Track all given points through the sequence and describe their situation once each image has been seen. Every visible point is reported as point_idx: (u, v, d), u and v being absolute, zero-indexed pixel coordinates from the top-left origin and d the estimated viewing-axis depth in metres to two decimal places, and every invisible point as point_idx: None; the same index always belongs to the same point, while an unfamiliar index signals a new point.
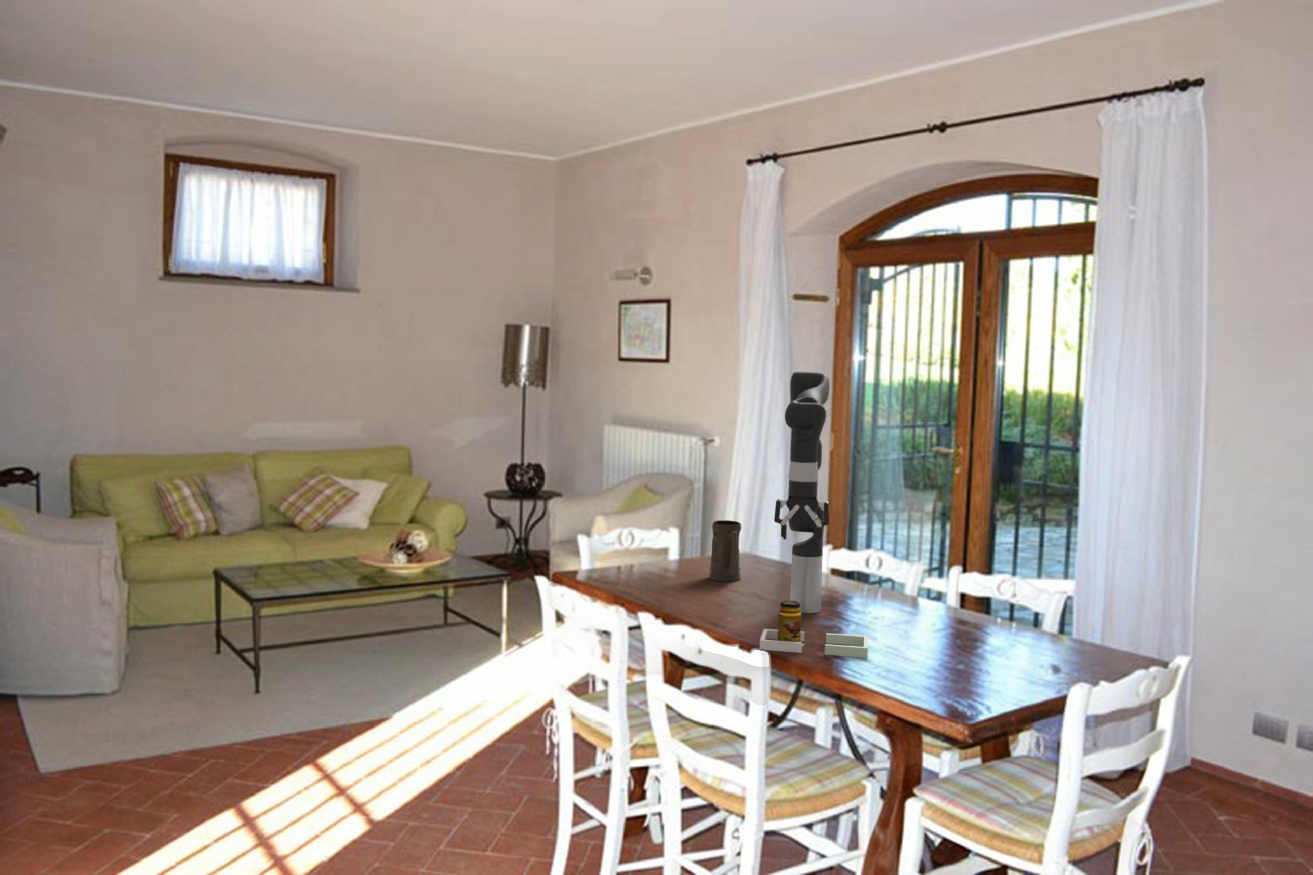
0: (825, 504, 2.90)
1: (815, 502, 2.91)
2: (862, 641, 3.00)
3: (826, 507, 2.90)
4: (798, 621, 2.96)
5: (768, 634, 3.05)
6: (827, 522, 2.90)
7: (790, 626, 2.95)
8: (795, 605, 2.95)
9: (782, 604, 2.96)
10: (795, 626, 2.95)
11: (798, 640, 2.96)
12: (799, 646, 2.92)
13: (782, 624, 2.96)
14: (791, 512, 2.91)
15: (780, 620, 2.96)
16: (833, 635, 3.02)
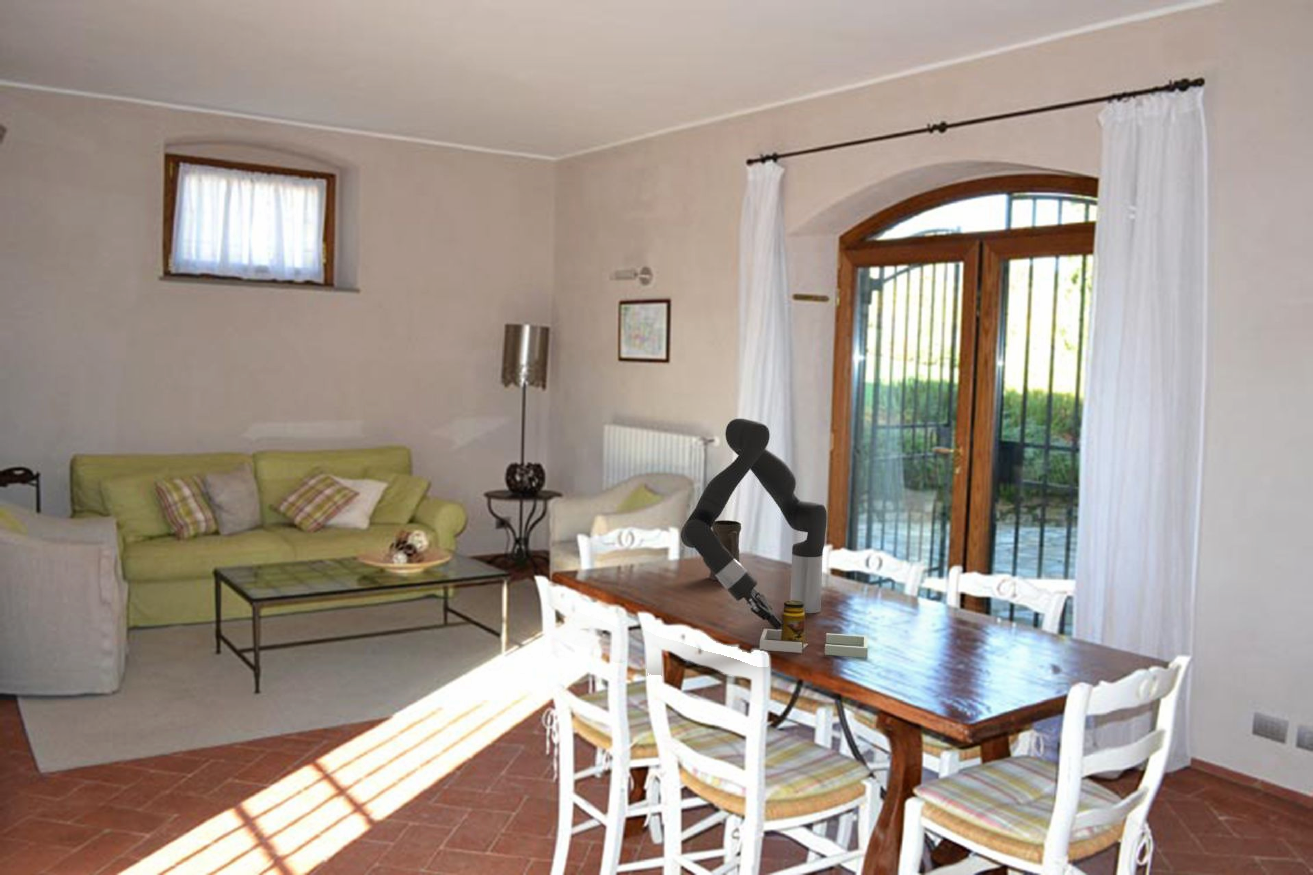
0: None
1: None
2: (862, 641, 3.00)
3: None
4: (802, 621, 2.96)
5: (768, 634, 3.05)
6: (762, 618, 2.97)
7: (794, 626, 2.95)
8: (799, 605, 2.95)
9: (786, 604, 2.96)
10: (799, 626, 2.95)
11: (802, 640, 2.96)
12: (799, 646, 2.92)
13: (786, 624, 2.96)
14: None
15: (784, 620, 2.96)
16: (833, 635, 3.02)
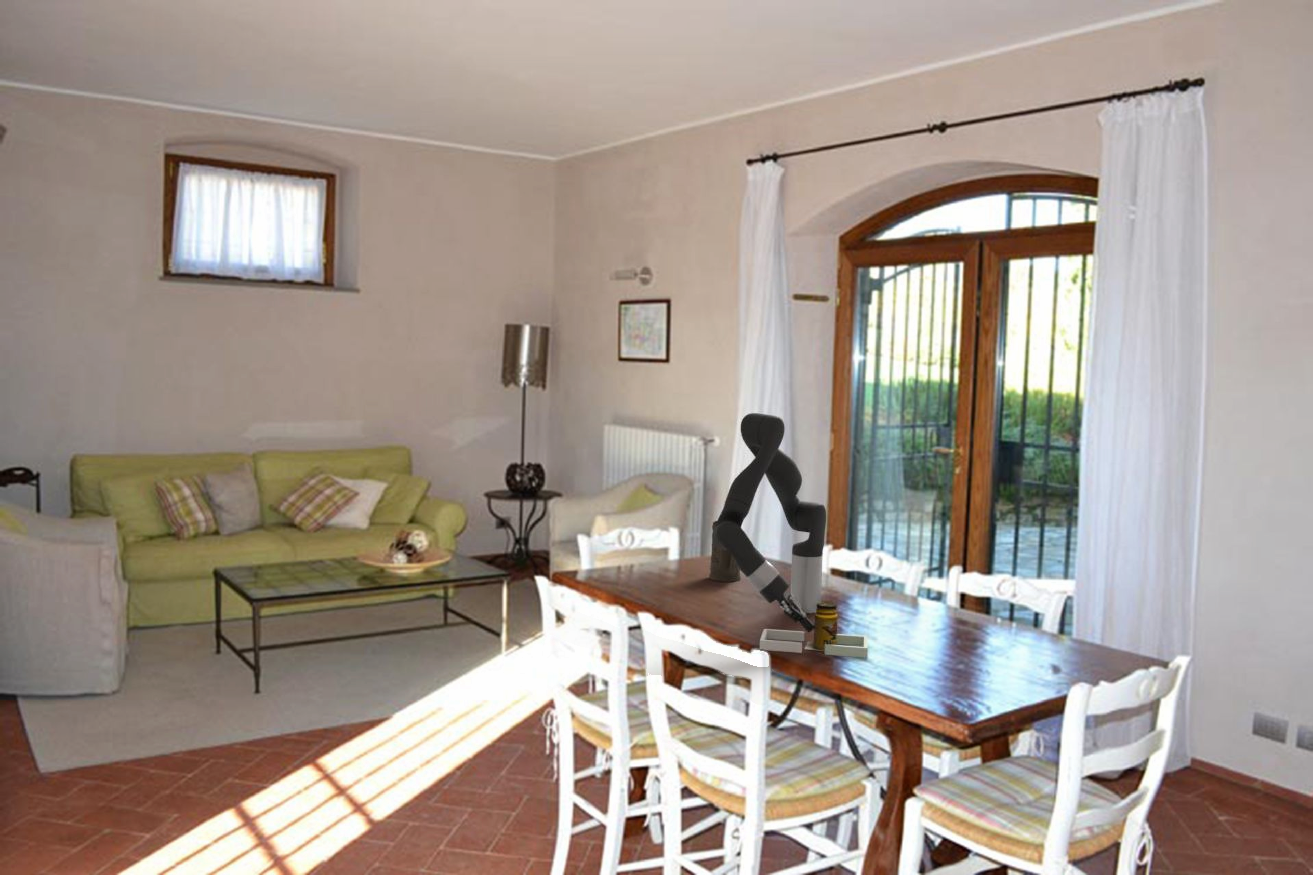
0: None
1: (780, 604, 2.95)
2: (862, 641, 3.00)
3: None
4: (836, 622, 2.95)
5: (768, 634, 3.05)
6: (794, 620, 2.95)
7: (829, 628, 2.94)
8: (833, 606, 2.94)
9: (820, 606, 2.94)
10: (834, 627, 2.94)
11: (836, 641, 2.96)
12: (799, 646, 2.92)
13: (821, 627, 2.94)
14: None
15: (819, 622, 2.94)
16: None
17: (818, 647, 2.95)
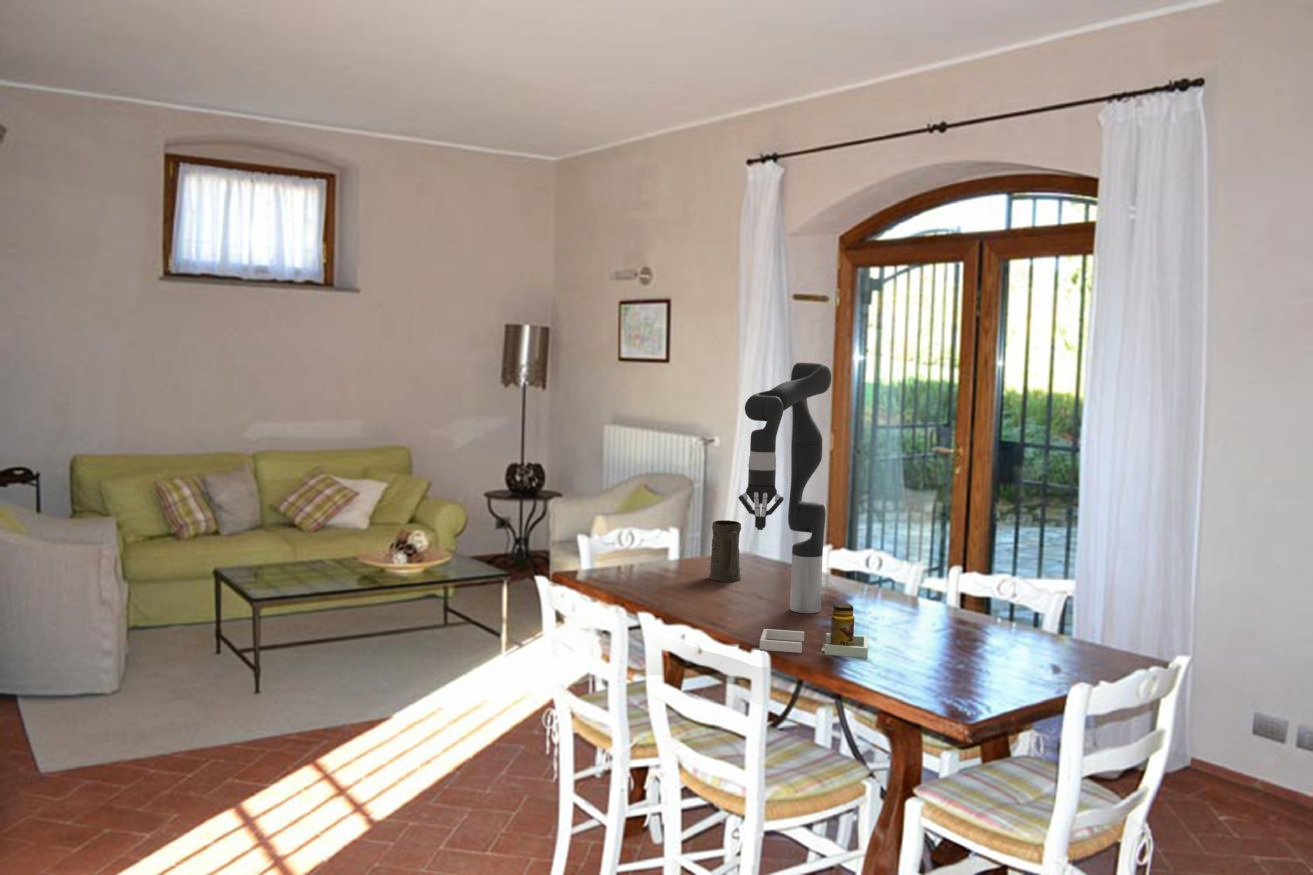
0: (780, 499, 3.07)
1: (774, 491, 3.07)
2: (862, 641, 3.00)
3: (779, 501, 3.07)
4: (853, 624, 2.94)
5: (768, 634, 3.05)
6: (770, 512, 3.08)
7: (846, 629, 2.93)
8: (850, 608, 2.93)
9: (837, 608, 2.94)
10: (851, 629, 2.94)
11: (852, 643, 2.95)
12: (799, 646, 2.92)
13: (838, 628, 2.93)
14: (755, 501, 3.08)
15: (835, 624, 2.94)
16: None
17: None
